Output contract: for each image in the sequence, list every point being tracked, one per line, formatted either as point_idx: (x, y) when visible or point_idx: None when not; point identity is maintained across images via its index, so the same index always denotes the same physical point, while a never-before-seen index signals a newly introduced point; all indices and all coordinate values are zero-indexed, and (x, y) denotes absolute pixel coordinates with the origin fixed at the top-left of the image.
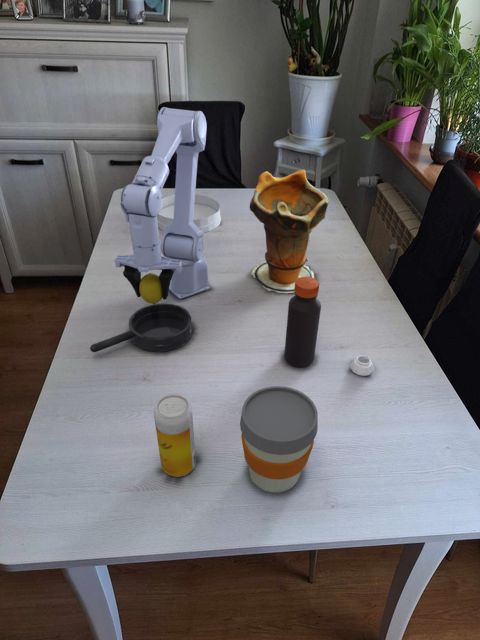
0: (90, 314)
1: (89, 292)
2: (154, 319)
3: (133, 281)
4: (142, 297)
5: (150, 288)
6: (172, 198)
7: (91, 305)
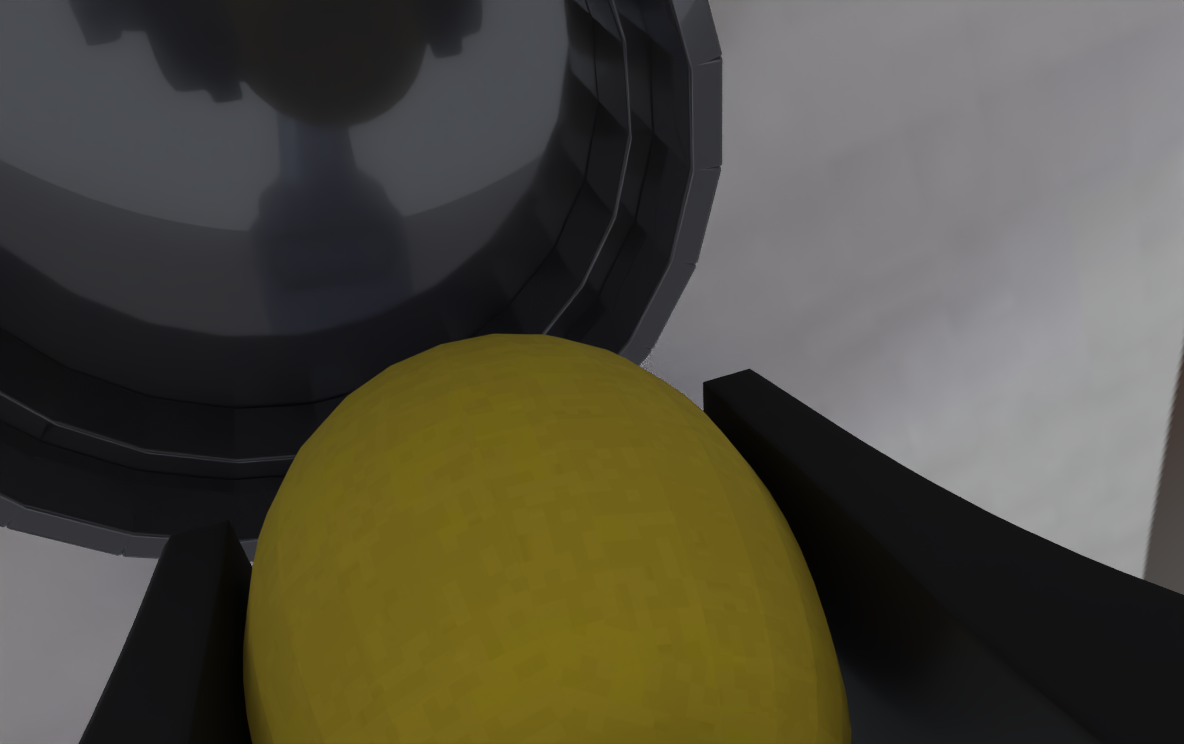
0: (1109, 124)
1: (1142, 375)
2: (484, 302)
3: (1034, 630)
4: (636, 368)
5: (474, 646)
6: None
7: (1113, 244)
